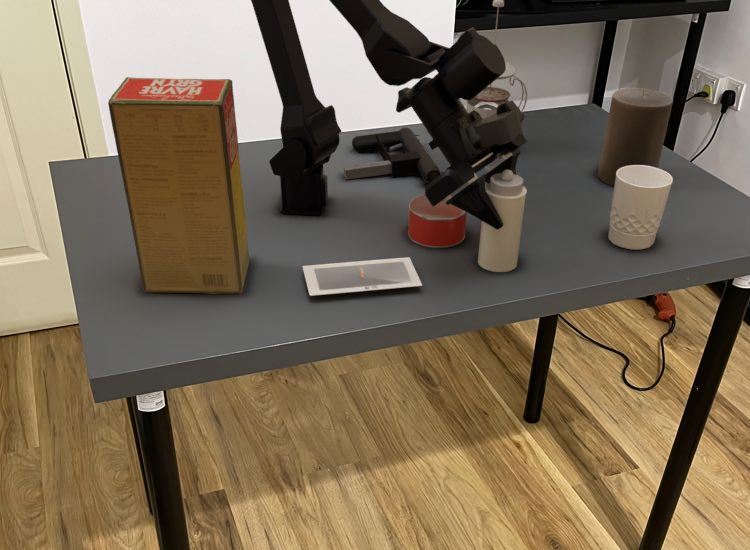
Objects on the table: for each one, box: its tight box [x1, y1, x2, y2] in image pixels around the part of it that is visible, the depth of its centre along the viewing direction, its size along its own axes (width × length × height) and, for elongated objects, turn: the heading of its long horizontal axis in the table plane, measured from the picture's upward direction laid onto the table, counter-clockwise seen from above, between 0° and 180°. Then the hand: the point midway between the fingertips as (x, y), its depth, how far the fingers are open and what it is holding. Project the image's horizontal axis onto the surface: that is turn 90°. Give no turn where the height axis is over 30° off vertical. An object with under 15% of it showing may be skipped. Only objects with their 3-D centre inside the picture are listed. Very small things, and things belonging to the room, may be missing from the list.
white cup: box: [607, 165, 674, 251], centre depth 121 cm, size 8×8×10 cm
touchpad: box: [301, 256, 423, 297], centre depth 111 cm, size 8×15×2 cm, turn 102°
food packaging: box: [107, 77, 251, 295], centre depth 105 cm, size 13×9×25 cm
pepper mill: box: [477, 169, 528, 273], centre depth 113 cm, size 6×6×14 cm
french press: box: [466, 0, 528, 118], centre depth 143 cm, size 10×12×25 cm
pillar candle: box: [597, 87, 674, 187], centre depth 137 cm, size 10×10×15 cm
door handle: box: [343, 127, 444, 184], centre depth 142 cm, size 3×20×16 cm
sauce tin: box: [407, 194, 468, 249], centre depth 122 cm, size 8×8×5 cm
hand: (511, 219), depth 112 cm, fingers open, 6 cm apart
